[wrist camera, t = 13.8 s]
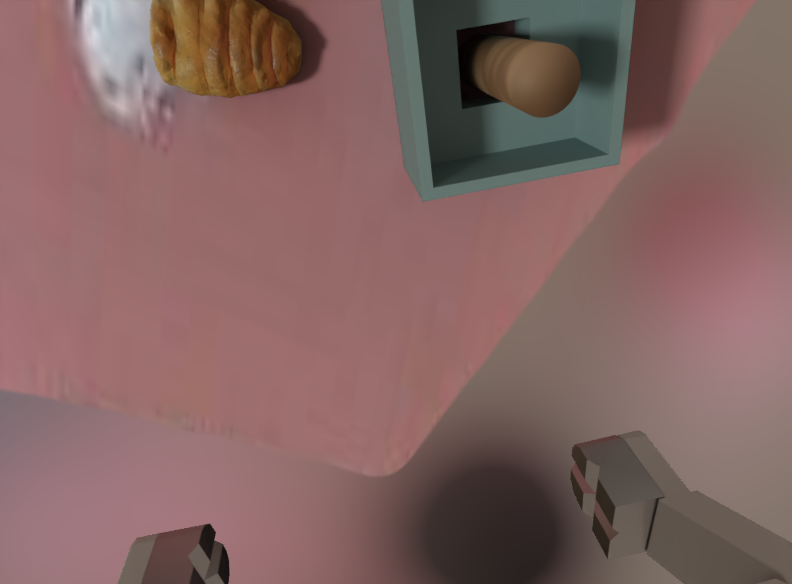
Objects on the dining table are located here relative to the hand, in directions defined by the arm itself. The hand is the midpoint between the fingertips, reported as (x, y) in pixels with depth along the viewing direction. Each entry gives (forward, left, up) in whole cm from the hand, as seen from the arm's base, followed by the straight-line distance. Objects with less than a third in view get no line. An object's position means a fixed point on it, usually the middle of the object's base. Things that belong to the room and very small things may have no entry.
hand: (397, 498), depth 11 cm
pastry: (-9, -7, -32) cm, 33 cm away
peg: (-5, +11, -31) cm, 33 cm away
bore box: (-5, +11, -31) cm, 33 cm away
